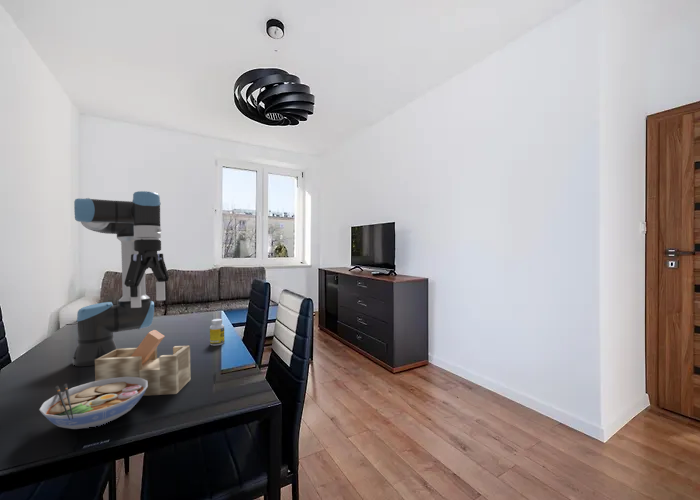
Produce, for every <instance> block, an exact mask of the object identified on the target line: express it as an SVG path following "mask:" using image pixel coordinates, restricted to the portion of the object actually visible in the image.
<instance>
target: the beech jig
mask: <svg viewBox="0 0 700 500" xmlns="http://www.w3.org/2000/svg"><path fill="white" fill-rule="evenodd" d="M136 349H137V347H124V348H123V347H122V348H117V349H116V350H114V351H112V352H110V353H108V354H106V355H104V356H102V357H100V358H98V359H96V360H95V365H94V375H95V376H94V379H95V380H94V381H99V380H104V379H109V378H118V377H139V378H142V379H145V380H147V381H148V387H147V389H146V391H145V393H144V394H143V396H142V397H145V396H160V395H162V396H163V395H165V396H166V395H177V394H178V393H179V392H180V391H181V390H182V389H183V388H184V387H185V386H186V385H187V384H188V383H189V382H190V381H191V376H192V374H191V346H190V345H174V346H173V347H172V354H162V355H159V357H158V347H157V348H156V349H155V350H154V352H153V353H152V354H151V356H150V357H149V359H148V360H147V361H146V362H145V363H144V364H142V356H135V357H131V356H132V354H133V353H134V352H135V350H136Z"/></svg>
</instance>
